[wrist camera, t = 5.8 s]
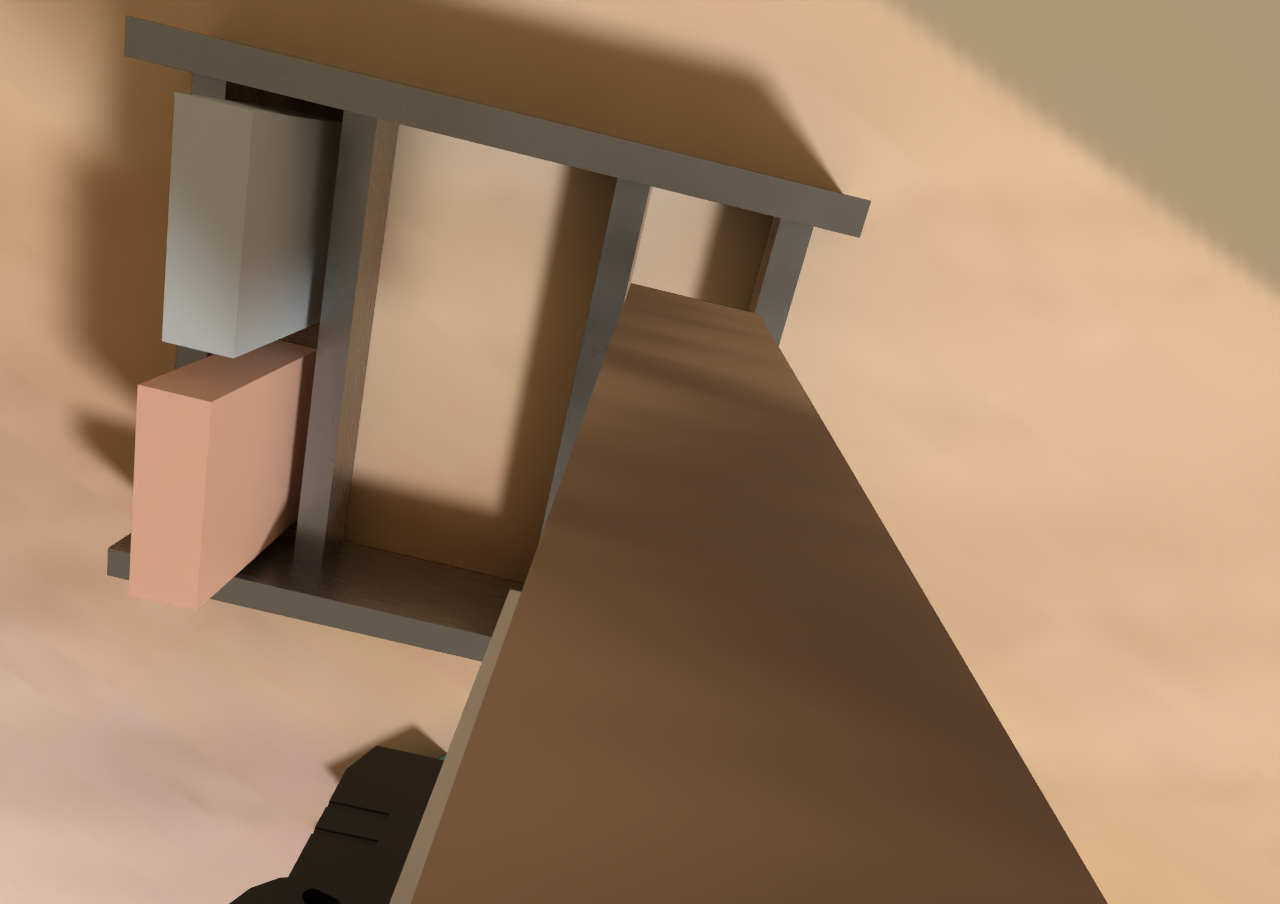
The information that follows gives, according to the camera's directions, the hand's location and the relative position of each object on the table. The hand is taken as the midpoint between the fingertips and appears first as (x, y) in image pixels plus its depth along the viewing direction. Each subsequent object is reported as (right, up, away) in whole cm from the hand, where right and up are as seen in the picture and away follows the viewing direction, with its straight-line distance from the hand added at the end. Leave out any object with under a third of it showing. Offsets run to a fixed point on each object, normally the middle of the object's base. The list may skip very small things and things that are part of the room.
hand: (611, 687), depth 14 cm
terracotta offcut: (-12, +5, +16) cm, 21 cm away
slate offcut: (-11, +12, +14) cm, 21 cm away
